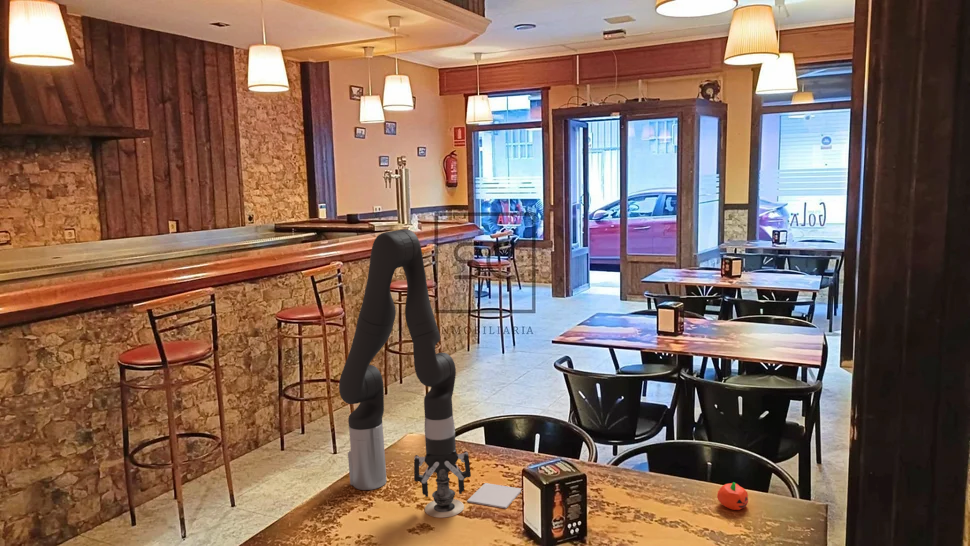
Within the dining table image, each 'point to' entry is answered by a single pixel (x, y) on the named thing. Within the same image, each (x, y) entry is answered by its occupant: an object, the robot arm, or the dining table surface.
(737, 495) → the halloween pumpkin figurine
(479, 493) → the mat
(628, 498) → the dining table surface
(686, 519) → the dining table surface
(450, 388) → the robot arm
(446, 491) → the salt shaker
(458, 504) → the coaster
